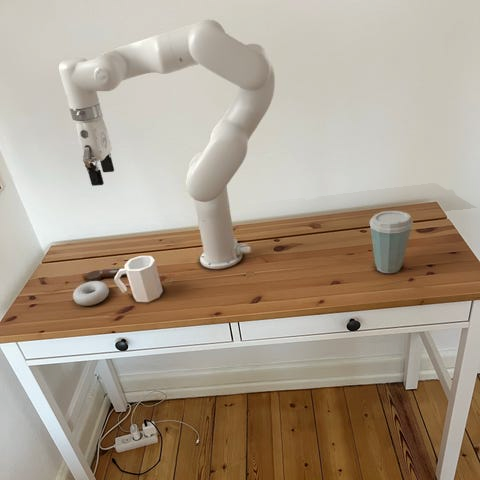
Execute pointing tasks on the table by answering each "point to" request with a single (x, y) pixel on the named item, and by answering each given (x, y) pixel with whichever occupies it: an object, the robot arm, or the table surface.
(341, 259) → the table surface
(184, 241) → the table surface
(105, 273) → the spoon
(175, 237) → the table surface
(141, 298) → the mug
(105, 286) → the donut
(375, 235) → the disposable coffee cup
